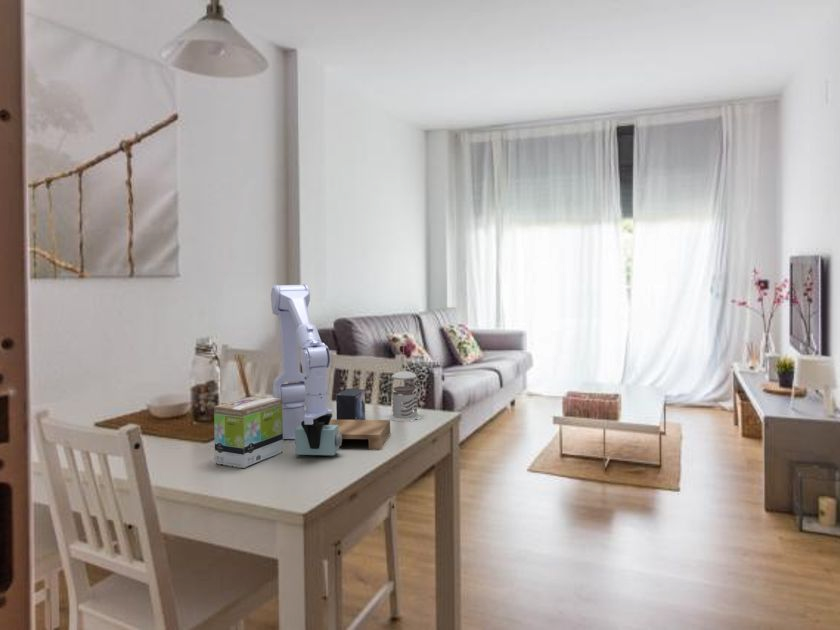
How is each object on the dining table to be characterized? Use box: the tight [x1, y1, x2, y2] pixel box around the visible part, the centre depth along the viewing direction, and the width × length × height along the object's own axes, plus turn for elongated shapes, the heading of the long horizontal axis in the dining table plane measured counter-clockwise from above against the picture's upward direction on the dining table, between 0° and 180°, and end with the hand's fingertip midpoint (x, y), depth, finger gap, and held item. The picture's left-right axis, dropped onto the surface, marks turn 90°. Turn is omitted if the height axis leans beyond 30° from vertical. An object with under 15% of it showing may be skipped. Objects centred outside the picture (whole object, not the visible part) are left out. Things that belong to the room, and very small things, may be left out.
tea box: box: [213, 395, 284, 469], centre depth 152 cm, size 15×10×15 cm, turn 155°
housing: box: [294, 425, 343, 456], centre depth 153 cm, size 11×5×6 cm, turn 83°
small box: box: [335, 387, 366, 420], centre depth 184 cm, size 11×6×10 cm, turn 169°
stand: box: [329, 419, 391, 450], centre depth 166 cm, size 18×16×4 cm
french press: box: [390, 340, 422, 422], centre depth 192 cm, size 10×12×25 cm
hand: (317, 445), depth 153 cm, fingers closed on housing, 5 cm apart
